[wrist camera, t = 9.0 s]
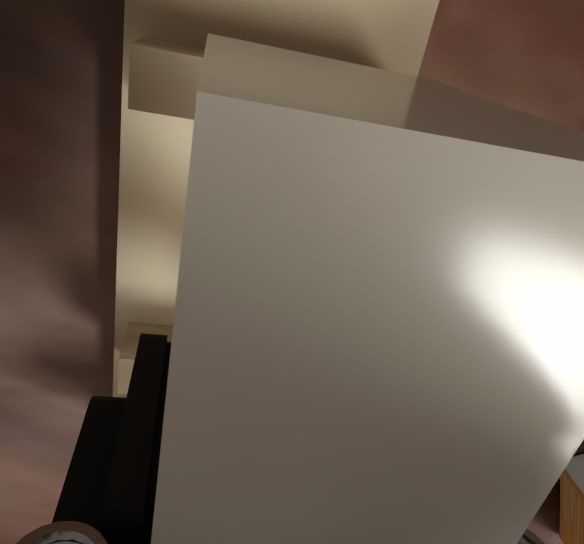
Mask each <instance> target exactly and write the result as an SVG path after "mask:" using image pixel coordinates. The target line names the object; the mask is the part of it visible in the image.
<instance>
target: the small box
mask: <svg viewBox="0 0 584 544" xmlns="http://www.w3.org/2000/svg"><path fill="white" fill-rule="evenodd" d="M559 536H560V539H561V540H562V542H563V543H564V544H584V453H583V454H580V455H577V456H574V457H572V458H571V460H570V462H569V463H568V465H567V466H566V468H565V469H564V471H563V472H562V474H561V476H560V530H559Z"/></svg>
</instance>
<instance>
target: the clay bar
mask: <svg viewBox="0 0 584 544" xmlns="http://www.w3.org/2000/svg"><path fill="white" fill-rule="evenodd" d="M583 440H584V134H583V133H580V132H578V131H575V130H572V129H569V128H566V127H564V126H561V125H558V124H555V123H552V122H549V121H547V120H544V119H541V118H538V117H535V116H533V115H530V114H527V113H524V112H521V111H519V110H516V109H513V108H510V107H507V106H505V105H502V104H499V103H496V102H493V101H491V100H488V99H485V98H482V97H479V96H476V95H474V94H471V93H468V92H465V91H462V90H460V89H457V88H454V87H451V86H448V85H446V84H443V83H440V82H437V81H434V80H432V79H427V78H422V77H417V76H412V75H407V74H403V73H398V72H393V71H388V70H383V69H379V68H374V67H369V66H364V65H359V64H355V63H350V62H345V61H340V60H335V59H330V58H326V57H321V56H316V55H311V54H306V53H302V52H297V51H292V50H287V49H282V48H277V47H273V46H268V45H263V44H258V43H253V42H249V41H244V40H239V39H234V38H229V37H224V36H220V35H215V34H210V33H208V35H207V41H206V46H205V52H204V57H203V62H202V68H201V73H200V79H199V84H198V90H197V98H196V108H195V117H194V127H193V137H192V147H191V156H190V166H189V176H188V186H187V195H186V205H185V215H184V225H183V234H182V244H181V254H180V264H179V273H178V283H177V293H176V303H175V312H174V322H173V332H172V342H171V351H170V361H169V371H168V381H167V390H166V400H165V410H164V420H163V429H162V439H161V449H160V459H159V468H158V478H157V488H156V498H155V507H154V517H153V527H152V537H151V544H517V543H518V541H519V540H520V538H521V536H522V535H523V533H524V532H525V530H526V529H527V527H528V526H529V524H530V522H531V521H532V519H533V518H534V516H535V515H536V513H537V512H538V510H539V508H540V507H541V505H542V504H543V502H544V501H545V499H546V497H547V496H548V494H549V493H550V491H551V490H552V488H553V487H554V485H555V483H556V482H557V480H558V479H559V477H560V476H561V474H562V472H563V471H564V469H565V468H566V466H567V465H568V463H569V462H570V460H571V458H572V457H573V455H574V454H575V452H576V451H577V449H578V448H579V446H580V444H581V443H582V441H583Z"/></svg>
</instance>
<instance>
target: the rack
mask: <svg viewBox="0 0 584 544" xmlns="http://www.w3.org/2000/svg"><path fill="white" fill-rule="evenodd" d="M438 4H439V0H125V7H124V40H123V72H122V105H121V138H120V171H119V203H118V236H117V269H116V301H115V334H114V367H113V397H125V398H126V397H127V392H128V388H129V383H130V379H131V374H132V370H133V365H134V360H135V356H136V351H137V347H138V342H139V338H140V334H141V333H146V334H160V335H168V337H167V342H172V332H173V322H174V312H175V303H176V293H177V283H178V273H179V264H180V254H181V244H182V234H183V225H184V215H185V205H186V195H187V186H188V176H189V166H190V156H191V147H192V137H193V127H194V117H195V108H196V98H197V90H198V84H199V79H200V73H201V68H202V62H203V57H204V52H205V46H206V41H207V35H208V33H210V34H215V35H220V36H224V37H229V38H234V39H239V40H244V41H249V42H253V43H258V44H263V45H268V46H273V47H277V48H282V49H287V50H292V51H297V52H302V53H306V54H311V55H316V56H321V57H326V58H330V59H335V60H340V61H345V62H350V63H355V64H359V65H364V66H369V67H374V68H379V69H383V70H388V71H393V72H398V73H403V74H407V75H412V76H417V75H418V72H419V69H420V65H421V62H422V58H423V55H424V51H425V48H426V45H427V41H428V38H429V34H430V31H431V27H432V24H433V21H434V17H435V14H436V10H437V7H438Z"/></svg>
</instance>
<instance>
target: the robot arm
mask: <svg viewBox="0 0 584 544" xmlns="http://www.w3.org/2000/svg"><path fill="white" fill-rule="evenodd" d="M167 337H168V335H160V334H146V333H141V334H140V338H139V342H138V347H137V351H136V356H135V360H134V365H133V370H132V374H131V379H130V383H129V388H128V392H127V397H126V398H125V397H103V396H92V398H91V400H90V402H89V405H88V408H87V412H86V415H85V418H84V421H83V424H82V428H81V431H80V434H79V437H78V440H77V444H76V447H75V450H74V453H73V457H72V460H71V463H70V466H69V469H68V473H67V476H66V479H65V482H64V486H63V489H62V492H61V495H60V498H59V502H58V505H57V508H56V511H55V515H54V518H53V521H52V523H51V524H48V525H44V526H41V527H39V528H37V529H36V530H34V531H32V532H30V533H28V534H27V535H25V536H24V537H23V538H22V539H20V540H19V541H18V542H17V543H16V544H151V537H152V527H153V517H154V507H155V498H156V488H157V478H158V468H159V459H160V449H161V439H162V429H163V420H164V410H165V400H166V390H167V381H168V371H169V361H170V351H171V342H167ZM517 544H544V543H543V542H542V540H541V539H539V538H538V537H537V536H536V535H534V534H533V533H532V532H531V531H530V530H528V529H526V530H525V532H524V533H523V535H522V536H521V538H520V540H519V541H518V543H517Z"/></svg>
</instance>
